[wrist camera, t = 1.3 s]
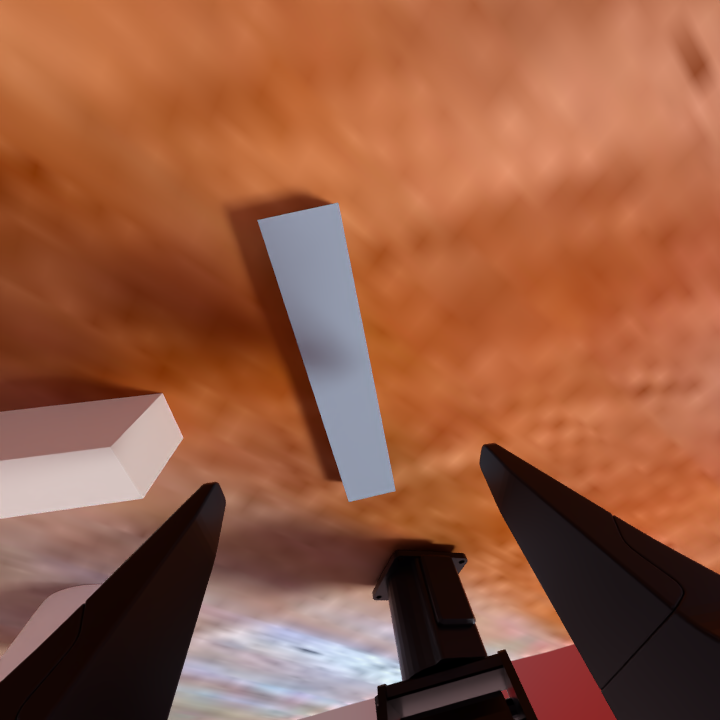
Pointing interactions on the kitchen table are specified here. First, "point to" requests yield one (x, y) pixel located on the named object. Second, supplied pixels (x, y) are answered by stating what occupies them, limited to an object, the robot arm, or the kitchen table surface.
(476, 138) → the kitchen table surface
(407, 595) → the robot arm
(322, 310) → the bar
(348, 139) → the kitchen table surface
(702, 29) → the kitchen table surface
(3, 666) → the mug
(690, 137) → the kitchen table surface
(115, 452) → the fulcrum
